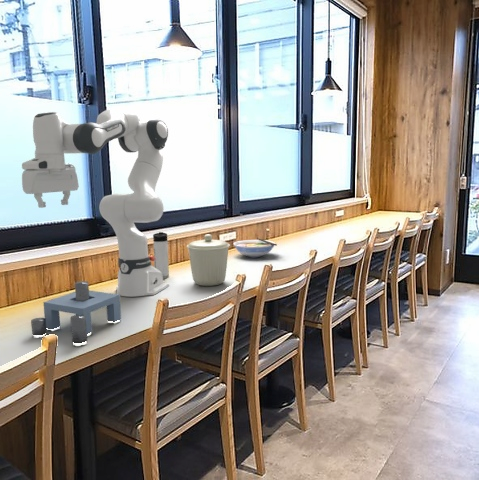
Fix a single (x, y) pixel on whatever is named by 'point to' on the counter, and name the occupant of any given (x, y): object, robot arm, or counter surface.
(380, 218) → the counter surface
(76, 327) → the medium steel pin
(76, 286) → the tall steel pin
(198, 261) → the canister
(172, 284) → the counter surface
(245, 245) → the ramen bowl
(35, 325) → the short steel pin
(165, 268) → the travel mug
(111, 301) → the grey legged square frame
